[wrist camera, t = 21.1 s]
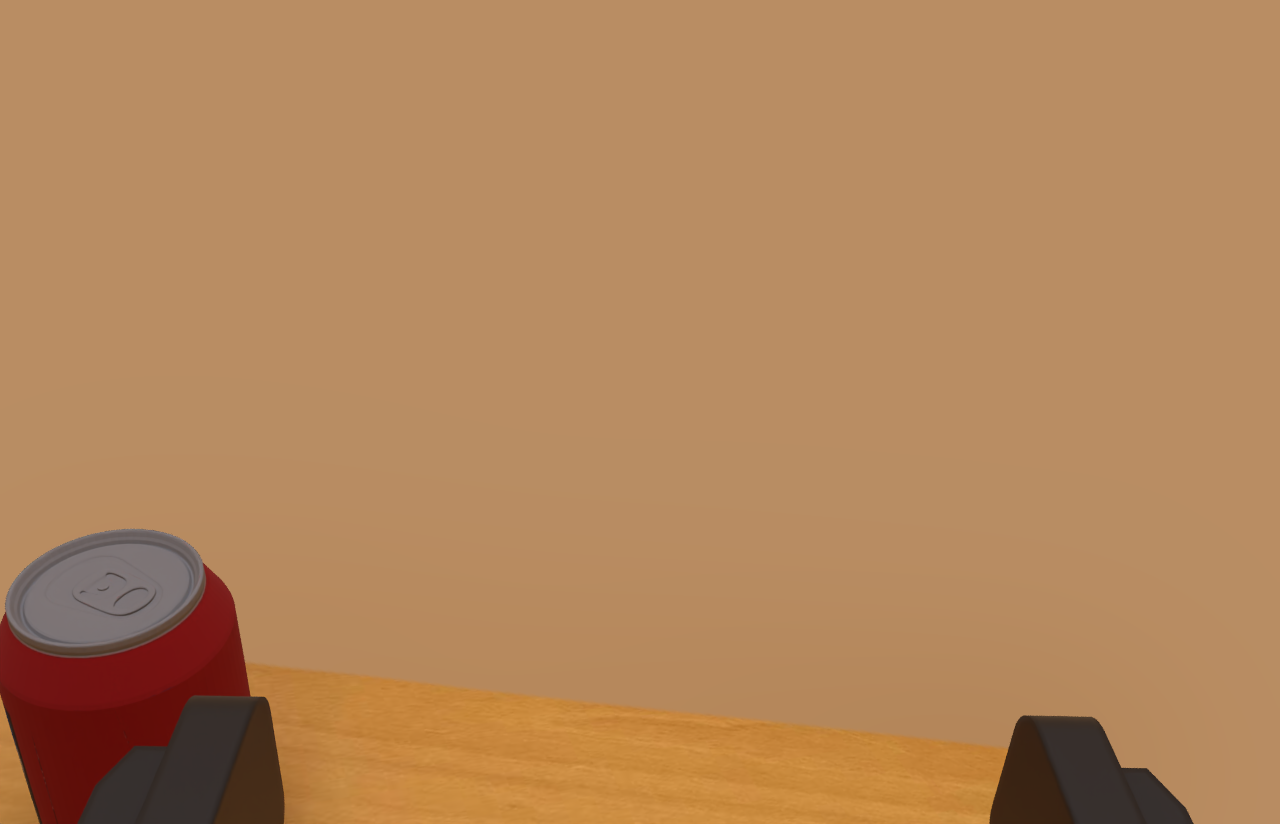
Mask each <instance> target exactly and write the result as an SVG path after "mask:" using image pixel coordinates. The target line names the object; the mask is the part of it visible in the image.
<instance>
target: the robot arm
mask: <svg viewBox="0 0 1280 824" xmlns="http://www.w3.org/2000/svg"><path fill="white" fill-rule="evenodd" d="M77 824H284V792H283V785H282V779H281V773H280V767H279V760H278V754H277V748H276V742H275V736H274V729H273V723H272V717H271V711H270V706H269V703H268V701H267V699H266V698H265V697H244V696H197V695H194V696H192V697H191V698H190V699H189V700H188V701H187V703H186V704H185V706H184V708H183V710H182V712H181V715H180V717H179V720H178V722H177V724H176V727H175V729H174V731H173V734H172V736H171V739H170V741H169V743H168V746H134V747H133V748H132V749H131V750H130V751H129V752H128V753H127V754H126V755H125V756H124V757H123V758H122V759H121V760H120V761H119V762H118V763H117V764H116V765H115V766H114V767H113V768H112V769H111V770H110V771H109V772H108V773H107V774H106V775H105V776H104V777H103V778H102V779H101V780H100V781H99V782H98V783H97V784H96V785H95V787H94V789H93V791H92V793H91V796H90V798H89V800H88V802H87V804H86V806H85V808H84V810H83V813H82V815H81V817H80V819H79V821H78V823H77ZM990 824H1193V822H1192V820H1191V818H1190V816H1189V814H1188V812H1187V810H1186V808H1185V807H1184V806H1183V805H1182V804H1181V803H1180V802H1179V801H1178V800H1177V799H1176V798H1175V797H1174V796H1173V795H1172V794H1171V793H1170V791H1168V789H1167V788H1165V786H1164V785H1163V784H1162V783H1161V782H1160V781H1159V780H1158V779H1157V778H1156V777H1155V776H1154V775H1153V774H1152V773H1151V772H1150V771H1149V770H1148V769H1147V768H1121V766H1120V764H1119V762H1118V760H1117V757H1116V755H1115V753H1114V751H1113V749H1112V747H1111V744H1110V742H1109V740H1108V738H1107V736H1106V734H1105V731H1104V730H1103V728H1102V726H1101V725H1100V723H1099V722H1098V721H1097V720H1096V719H1095V718H1093V717H1068V716H1022V717H1020V719H1019V720H1018V721H1017V723H1016V726H1015V729H1014V732H1013V735H1012V739H1011V743H1010V746H1009V749H1008V753H1007V756H1006V760H1005V763H1004V767H1003V770H1002V774H1001V777H1000V780H999V784H998V787H997V791H996V794H995V798H994V801H993V805H992V809H991V814H990Z"/></svg>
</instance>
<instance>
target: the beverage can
mask: <svg viewBox="0 0 1280 824" xmlns="http://www.w3.org/2000/svg"><path fill="white" fill-rule="evenodd" d="M5 610H6V612H5V614H4V616H3V619H2V621H1V624H0V694H1V698H2V701H3V705H4V708H5V712H6V715H7V718H8V722H9V725H10V729H11V732H12V735H13V739H14V742H15V745H16V749H17V752H18V755H19V759H20V762H21V765H22V768H23V772H24V775H25V778H26V782H27V785H28V788H29V791H30V794H31V797H32V801H33V804H34V807H35V810H36V813H37V816H38V820H39V823H40V824H77V823H78V821H79V819H80V817H81V815H82V813H83V810H84V808H85V806H86V804H87V802H88V800H89V798H90V796H91V793H92V791H93V789H94V787H95V785H96V784H97V783H98V782H99V781H100V780H101V779H102V778H103V777H104V776H105V775H106V774H107V773H108V772H109V771H110V770H111V769H112V768H113V767H114V766H115V765H116V764H117V763H118V762H119V761H120V760H121V759H122V758H123V757H124V756H125V755H126V754H127V753H128V752H129V751H130V750H131V749H132V748H133V747H134V746H168V743H169V741H170V739H171V736H172V734H173V731H174V729H175V727H176V724H177V722H178V720H179V717H180V715H181V712H182V710H183V708H184V706H185V704H186V703H187V701H188V700H189V699H190V698H191V697H192V696H194V695H197V696H244V697H250V691H249V685H248V679H247V673H246V667H245V660H244V655H243V649H242V644H241V638H240V633H239V627H238V621H237V615H236V610H235V604H234V600H233V597H232V595H231V593H230V591H229V590H228V588H227V586H226V585H225V584H224V583H223V581H222V580H221V579H220V578H219V577H217V575H215V574H214V573H213V572H212V571H211V570H210V569H209V568H208V567H207V566H206V565H205V564H204V563H203V562H202V559H201V557H200V555H199V554H198V552H197V551H196V550H195V549H194V548H193V547H192V546H191V545H190V544H188V543H187V542H186V541H184V540H182V539H180V538H178V537H176V536H173V535H171V534H167V533H164V532H159V531H154V530H144V529H122V530H112V531H105V532H100V533H95V534H91V535H87V536H84V537H81V538H78V539H75V540H72V541H69V542H67V543H65V544H62V545H60V546H58V547H56V548H54V549H52V550H50V551H48V552H46V553H45V554H43V555H42V556H40V557H39V558H37V559H36V560H35V561H33V562H32V563H31V564H29V565H28V566H27V567H26V568H25V569H24V570H23V571H22V572H21V573H20V574H19V575H18V577H17V578H16V579H15V581H14V582H13V583H12V585H11V587H10V589H9V591H8V594H7V597H6V603H5Z"/></svg>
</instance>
